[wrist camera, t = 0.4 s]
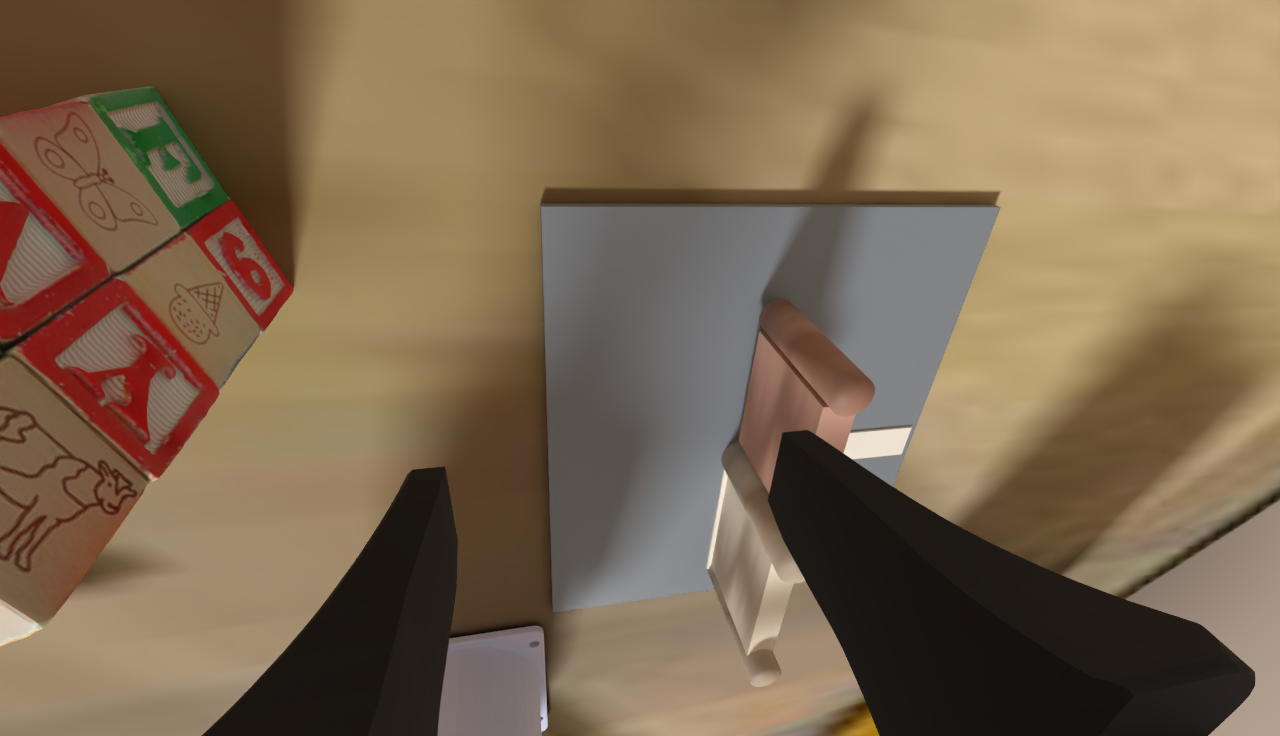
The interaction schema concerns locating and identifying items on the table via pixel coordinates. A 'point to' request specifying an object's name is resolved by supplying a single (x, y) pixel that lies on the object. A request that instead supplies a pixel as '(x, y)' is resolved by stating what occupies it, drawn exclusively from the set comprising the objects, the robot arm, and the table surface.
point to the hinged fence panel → (798, 387)
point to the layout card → (718, 360)
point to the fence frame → (751, 568)
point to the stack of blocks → (107, 326)
